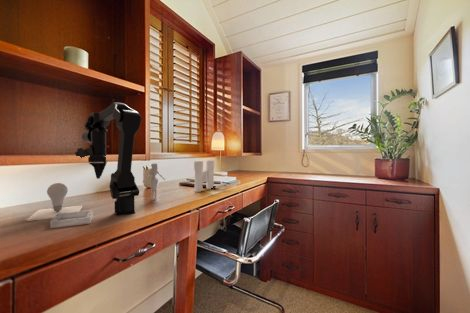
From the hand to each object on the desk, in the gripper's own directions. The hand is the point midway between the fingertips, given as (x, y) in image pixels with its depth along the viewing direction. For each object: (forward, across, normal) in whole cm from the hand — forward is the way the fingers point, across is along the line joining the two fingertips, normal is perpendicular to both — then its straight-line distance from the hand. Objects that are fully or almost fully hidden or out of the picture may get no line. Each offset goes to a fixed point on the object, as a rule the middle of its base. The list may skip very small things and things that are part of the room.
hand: (99, 177), depth 99 cm
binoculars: (+12, -14, +55) cm, 58 cm away
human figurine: (+12, +3, +23) cm, 26 cm away
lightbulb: (+12, +10, -13) cm, 20 cm away
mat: (+12, +10, -13) cm, 20 cm away
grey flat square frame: (+12, +24, -6) cm, 27 cm away
